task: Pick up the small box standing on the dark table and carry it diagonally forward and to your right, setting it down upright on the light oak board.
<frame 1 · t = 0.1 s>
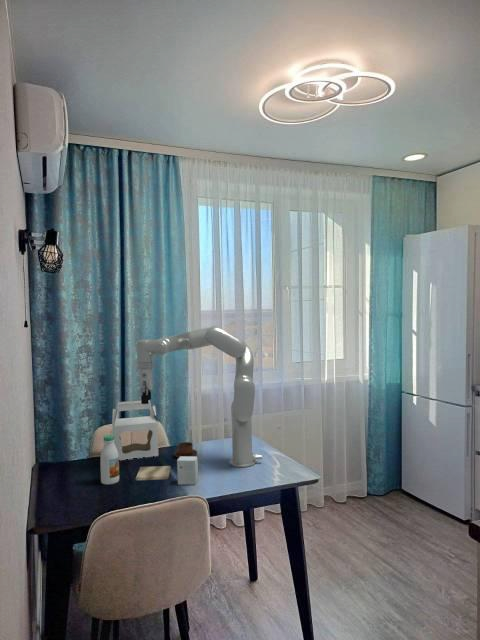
hand: (146, 401, 219), 31 cm above the table, tool pointing down, fingers open, 9 cm apart
small box: (188, 482, 199), on the table
milk bottle: (110, 482, 202), on the table
gable box: (135, 455, 239), on the table
cup and saucer: (185, 456, 236), on the table
oak board: (153, 474, 210), on the table
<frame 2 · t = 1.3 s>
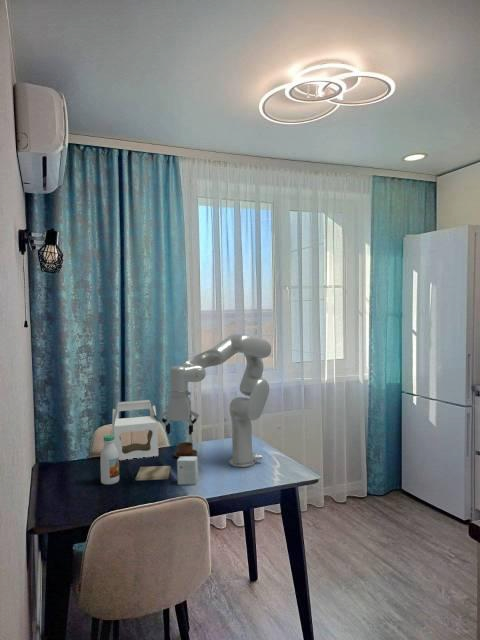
hand: (179, 433, 202), 20 cm above the table, tool pointing down, fingers open, 9 cm apart
nothing on the table moved.
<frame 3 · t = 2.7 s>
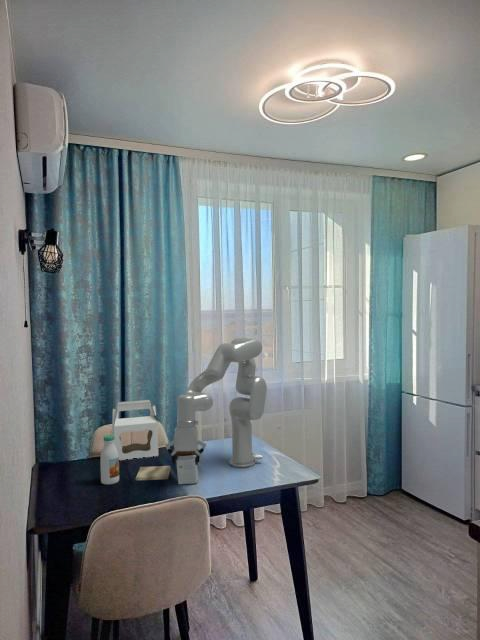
hand: (185, 464, 198), 8 cm above the table, tool pointing down, fingers open, 9 cm apart
nothing on the table moved.
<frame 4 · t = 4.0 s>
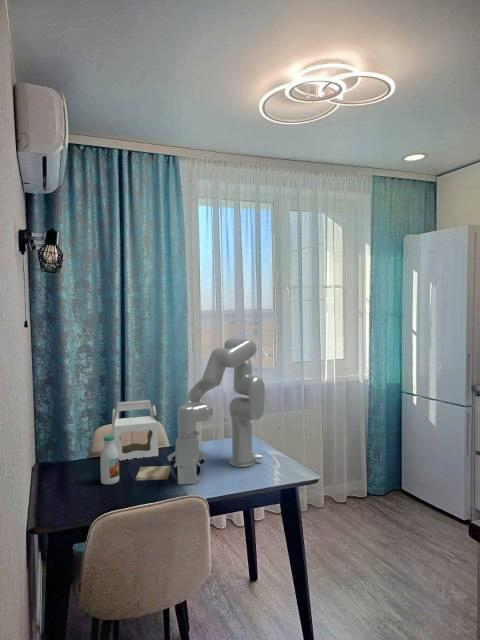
hand: (187, 475, 199), 3 cm above the table, tool pointing down, fingers closed on small box, 8 cm apart
small box: (187, 482, 199), on the table, touching gripper
everything else where it was.
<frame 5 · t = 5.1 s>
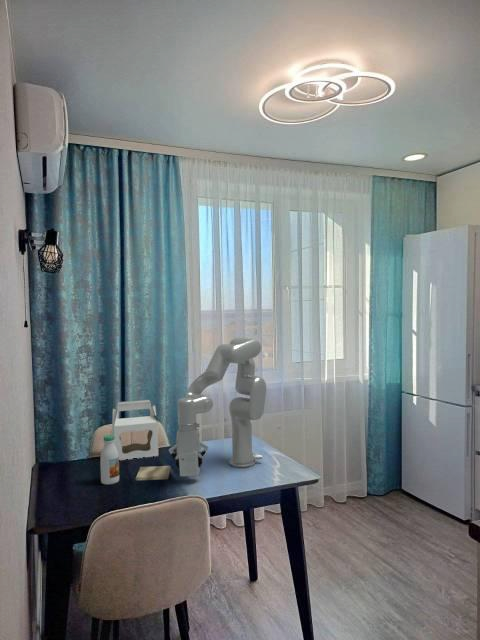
hand: (189, 466, 200), 6 cm above the table, tool pointing down, fingers closed on small box, 8 cm apart
small box: (189, 474, 200), point 3 cm above the table, touching gripper
everything else where it was.
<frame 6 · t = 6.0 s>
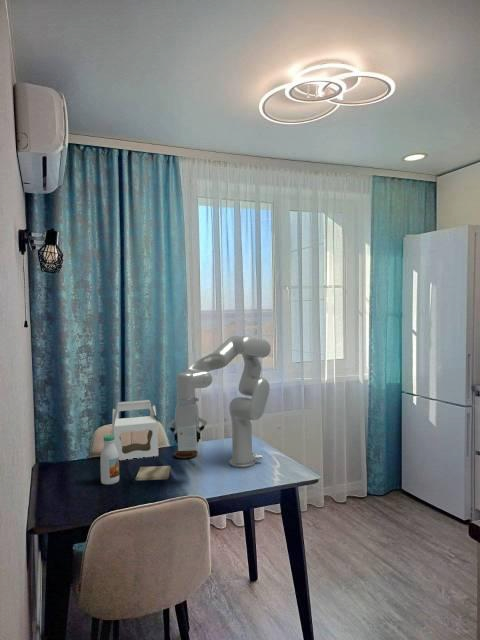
hand: (187, 441, 199), 18 cm above the table, tool pointing down, fingers closed on small box, 8 cm apart
small box: (188, 449, 199), point 14 cm above the table, touching gripper
everything else where it was.
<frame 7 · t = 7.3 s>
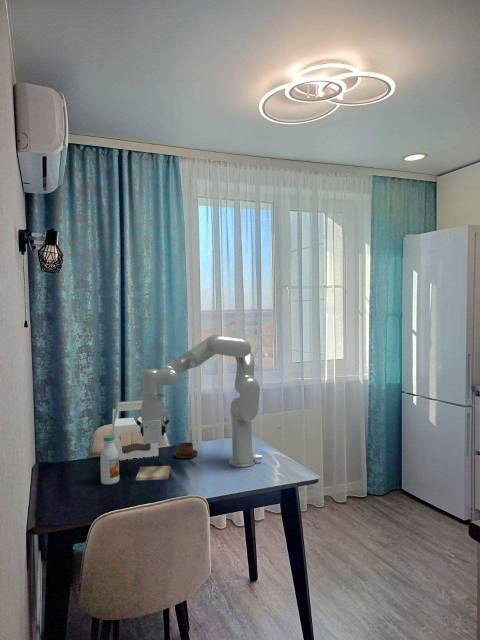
hand: (153, 434, 210), 18 cm above the table, tool pointing down, fingers closed on small box, 8 cm apart
small box: (153, 442, 210), point 14 cm above the table, touching gripper
everything else where it was.
when the fingers open (5 cm above the table, at t = 10.7 s): small box stays where it is, resting on oak board.
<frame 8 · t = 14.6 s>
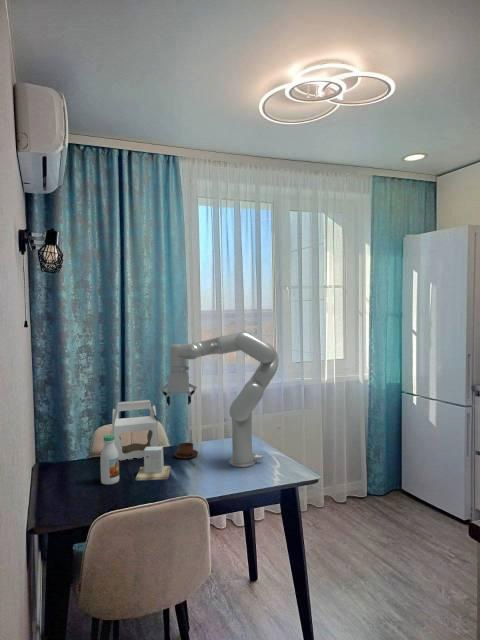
hand: (179, 404, 225), 28 cm above the table, tool pointing down, fingers open, 9 cm apart
small box: (154, 471, 210), point 1 cm above the table, touching oak board
everything else where it was.
at the end: small box inside the target area on the oak board (0.3 cm from its centre), point 1.1 cm above the oak board's base; small box tilted 0°; the gripper is holding nothing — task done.
